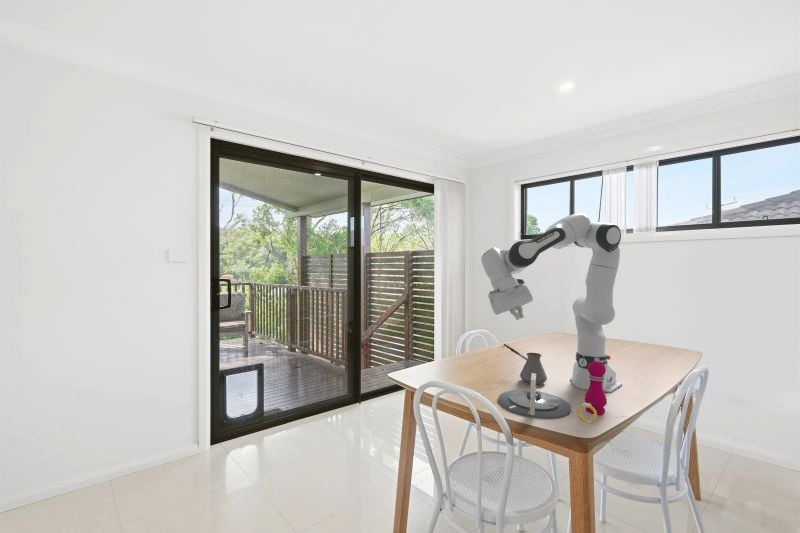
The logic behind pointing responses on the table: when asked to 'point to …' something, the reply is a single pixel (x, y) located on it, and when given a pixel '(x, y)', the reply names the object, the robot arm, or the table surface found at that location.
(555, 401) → the dial
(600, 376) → the pepper mill
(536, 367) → the coffee pot
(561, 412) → the dial base
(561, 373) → the table surface
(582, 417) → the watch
